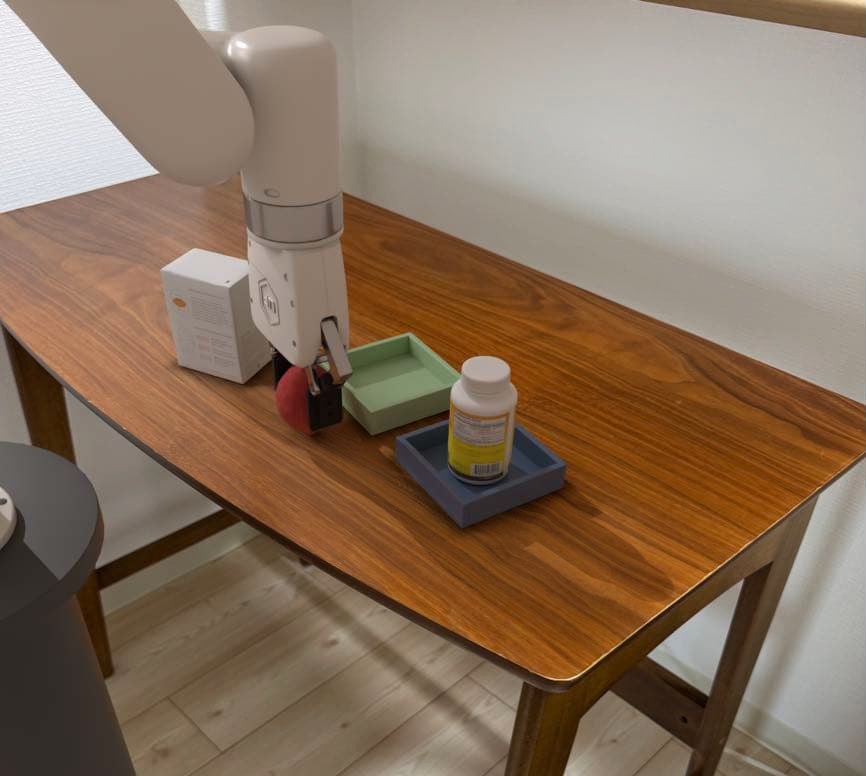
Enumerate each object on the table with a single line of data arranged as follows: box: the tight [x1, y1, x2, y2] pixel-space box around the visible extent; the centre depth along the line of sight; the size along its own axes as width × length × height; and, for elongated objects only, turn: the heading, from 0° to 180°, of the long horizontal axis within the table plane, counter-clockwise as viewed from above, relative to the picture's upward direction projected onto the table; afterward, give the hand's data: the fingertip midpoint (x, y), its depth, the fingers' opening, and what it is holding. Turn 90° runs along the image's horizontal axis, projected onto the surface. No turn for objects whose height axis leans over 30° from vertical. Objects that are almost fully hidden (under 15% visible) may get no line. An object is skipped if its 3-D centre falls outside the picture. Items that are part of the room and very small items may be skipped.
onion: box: [274, 364, 328, 435], centre depth 81 cm, size 6×6×8 cm
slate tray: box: [395, 418, 568, 529], centre depth 79 cm, size 11×11×3 cm
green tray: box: [317, 331, 461, 436], centre depth 88 cm, size 11×11×3 cm
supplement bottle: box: [448, 355, 519, 485], centre depth 76 cm, size 6×6×10 cm
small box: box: [159, 247, 273, 385], centre depth 88 cm, size 8×6×10 cm
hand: (308, 405), depth 82 cm, fingers closed on onion, 6 cm apart
